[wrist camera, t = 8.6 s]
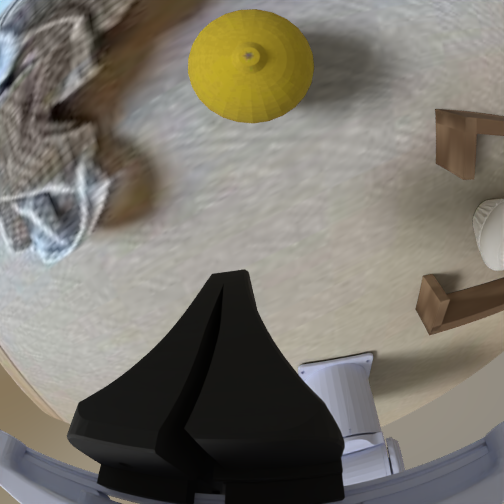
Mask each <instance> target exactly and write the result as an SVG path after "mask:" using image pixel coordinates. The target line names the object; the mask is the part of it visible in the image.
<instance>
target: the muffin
mask: <svg viewBox="0 0 504 504" xmlns="http://www.w3.org/2000/svg"><path fill="white" fill-rule="evenodd" d="M473 229H474V233H475V237H476V241H477V245H478V248H479V252H480V253H481V256H482V259H483V261H484V263H485V264H486V265H487V266H488V267H489V268H490V269H492V270H495V271H501V270H504V199H493V200H486V201H484V202H482V203H481V204H480V205H479V207H477V209H476V212H475V213H474V217H473Z"/></svg>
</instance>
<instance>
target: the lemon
mask: <svg viewBox="0 0 504 504" xmlns="http://www.w3.org/2000/svg"><path fill="white" fill-rule="evenodd" d="M313 72H314V62H313V54H312V51H311V48H310V46H309V43H308V41H307V39H306V38H305V37H304V35H303V34H302V33H301V31H300V30H299V29H298V28H297V27H296V26H295V25H293V24H292V23H291V22H290V21H288V20H287V19H285V18H283V17H281V16H279V15H277V14H274V13H272V12H267V11H262V10H257V9H252V10H238V11H235V12H231V13H228V14H225V15H223V16H221V17H219V18H217V19H215V20H214V21H212V22H211V23H210V24H208V25H207V26H206V27H205V28H204V29H203V30H202V31H201V32H200V33H199V35H198V37H197V38H196V40H195V41H194V43H193V45H192V48H191V51H190V55H189V58H188V74H189V78H190V81H191V85H192V87H193V89H194V91H195V92H196V94H197V96H198V98H199V99H200V100H201V101H202V102H203V103H204V104H205V105H206V106H207V107H208V108H209V109H210V110H211V111H213V112H215V113H216V114H218V115H220V116H222V117H223V118H227V119H230V120H233V121H236V122H244V123H259V122H266V121H270V120H273V119H275V118H278V117H280V116H283V115H284V114H286V113H287V112H289V111H290V110H292V109H293V108H295V107H296V106H297V104H298V103H299V102H300V101H301V100H302V99H303V98H304V97H305V95H306V93H307V91H308V89H309V87H310V85H311V82H312V77H313Z"/></svg>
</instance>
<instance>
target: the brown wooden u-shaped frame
mask: <svg viewBox="0 0 504 504" xmlns="http://www.w3.org/2000/svg"><path fill="white" fill-rule="evenodd" d="M435 113H436V164H438V165H440V166H441V167H443V168H445V169H447V170H448V171H450V172H452V173H453V174H455V175H457V176H458V177H460V178H461V179H463V180H469V179H474V175H475V162H476V137H477V134H489V135H500V136H504V116H499V115H492V114H485V113H477V112H467V111H457V110H444V109H435ZM503 310H504V278H502V279H498V280H495V281H492V282H489V283H485V284H482V285H479V286H475V287H472V288H468V289H464V290H461V291H457V292H453V293H450V294H446V293H445V292H444V290H443V289H442V287H441V286H440V284H439V283H438V282H437V280H436V279H435V277H434V276H433V275H432V274H430V275H425V276H423V279H422V283H421V288H420V293H419V297H418V301H417V305H416V311H417V313H418V314H419V316H420V318H421V320H422V322H423V324H424V326H425V328H426V330H427V331H428V333H429V335H432V334H436V333H439V332H442V331H446V330H449V329H452V328H455V327H458V326H461V325H465V324H467V323H470V322H473V321H476V320H479V319H482V318H485V317H487V316H490V315H493V314H495V313H498V312H500V311H503Z"/></svg>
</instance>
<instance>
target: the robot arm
mask: <svg viewBox="0 0 504 504" xmlns="http://www.w3.org/2000/svg"><path fill="white" fill-rule="evenodd" d="M372 361H373V354H372V353H366V354H361V355H356V356H351V357H346V358H340V359H335V360H329V361H323V362H316V363H310V364H303V365H300V366H299V367H298V372H299V375H298V374H297V373H296V371H295V370H294V369H293V367H292V366H291V365H290V363H289V362H288V361H287V360H286V358H285V357H284V356H283V354H282V353H281V351H280V350H279V348H278V347H277V345H276V344H275V342H274V341H273V339H272V337H271V336H270V334H269V332H268V331H267V329H266V327H265V325H264V323H263V321H262V319H261V317H260V315H259V313H258V311H257V307H256V302H255V298H254V294H253V289H252V285H251V281H250V276H249V272H248V271H246V270H237V271H230V272H223V273H215V274H212V275H211V276H210V278H209V279H208V280H207V282H206V283H205V285H204V286H203V288H202V289H201V291H200V292H199V293H198V295H197V296H196V298H195V299H194V301H193V302H192V303H191V305H190V306H189V307H188V309H187V310H186V312H185V313H184V314H183V316H182V317H181V318H180V319H179V320H178V322H177V323H176V324H175V325H174V327H173V328H172V329H171V330H170V331H169V333H168V334H167V335H166V336H165V337H164V338H163V339H162V340H161V341H160V342H159V343H158V344H157V345H156V346H155V347H154V348H153V349H152V350H151V351H150V352H149V353H148V354H147V355H146V356H145V357H143V358H142V359H141V360H140V361H139V362H138V363H137V364H135V365H134V366H133V367H132V368H131V369H129V370H128V371H127V372H126V373H124V374H123V375H122V376H120V377H119V378H118V379H116V380H115V381H113V382H112V383H110V384H109V385H108V386H106V387H104V388H103V389H101V390H100V391H98V392H96V393H95V394H93V395H91V396H89V397H88V398H86V399H84V400H83V401H81V402H79V404H78V406H77V409H76V411H75V414H74V417H73V420H72V423H71V425H70V428H69V431H68V434H67V438H68V440H69V442H70V443H71V444H72V445H73V446H74V447H76V448H77V449H78V450H80V451H81V452H83V453H84V454H86V455H87V456H89V457H90V458H92V459H94V460H95V461H97V462H98V463H100V464H101V467H100V471H99V474H96V473H93V472H90V471H86V470H83V469H80V468H77V467H74V466H72V465H68V464H66V463H64V462H61V461H58V460H56V459H53V458H51V457H49V456H46V455H44V454H42V453H39V452H37V451H35V450H33V449H30V448H28V447H26V445H25V444H23V443H22V442H21V441H19V440H17V439H16V438H15V437H13V436H11V435H10V434H8V433H6V432H4V431H2V430H0V486H1V487H2V488H3V489H5V490H6V491H7V492H8V493H9V494H10V495H12V496H13V497H14V498H15V499H16V500H17V501H18V502H19V503H21V504H121V503H118V502H115V501H112V500H110V498H109V497H108V495H109V496H112V497H116V498H120V499H123V500H127V501H131V502H135V503H140V504H502V503H503V502H504V421H503V422H501V423H500V424H498V425H497V426H496V427H494V428H493V429H492V430H491V431H490V432H488V433H487V435H486V436H485V437H484V438H482V439H480V440H478V441H476V442H474V443H472V444H470V445H468V446H466V447H464V448H462V449H459V450H457V451H455V452H453V453H450V454H448V455H446V456H443V457H441V458H438V459H436V460H433V461H431V462H428V463H425V464H423V465H420V466H417V467H414V468H412V469H408V470H405V468H404V463H403V459H402V454H401V450H400V447H399V443H398V441H397V440H395V439H393V438H392V437H389V438H387V439H386V441H387V446H388V447H387V449H388V454H389V458H388V455H387V450H386V445H385V441H384V436H383V433H382V431H381V427H380V423H379V419H378V415H377V411H376V407H375V403H374V399H373V395H372V392H371V388H370V384H369V381H368V378H369V374H370V370H371V365H372Z"/></svg>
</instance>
